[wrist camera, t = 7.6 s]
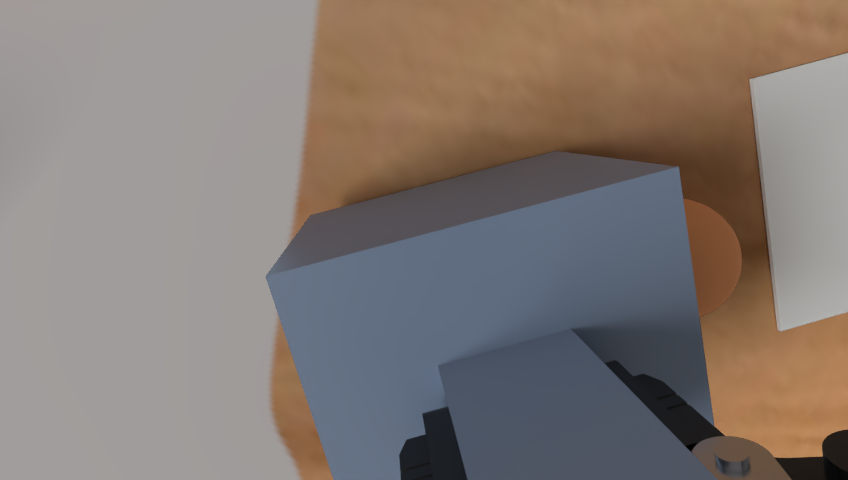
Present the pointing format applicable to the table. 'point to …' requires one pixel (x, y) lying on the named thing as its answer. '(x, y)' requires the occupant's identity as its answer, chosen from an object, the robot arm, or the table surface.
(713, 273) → the ball
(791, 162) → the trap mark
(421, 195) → the cover
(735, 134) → the table surface
